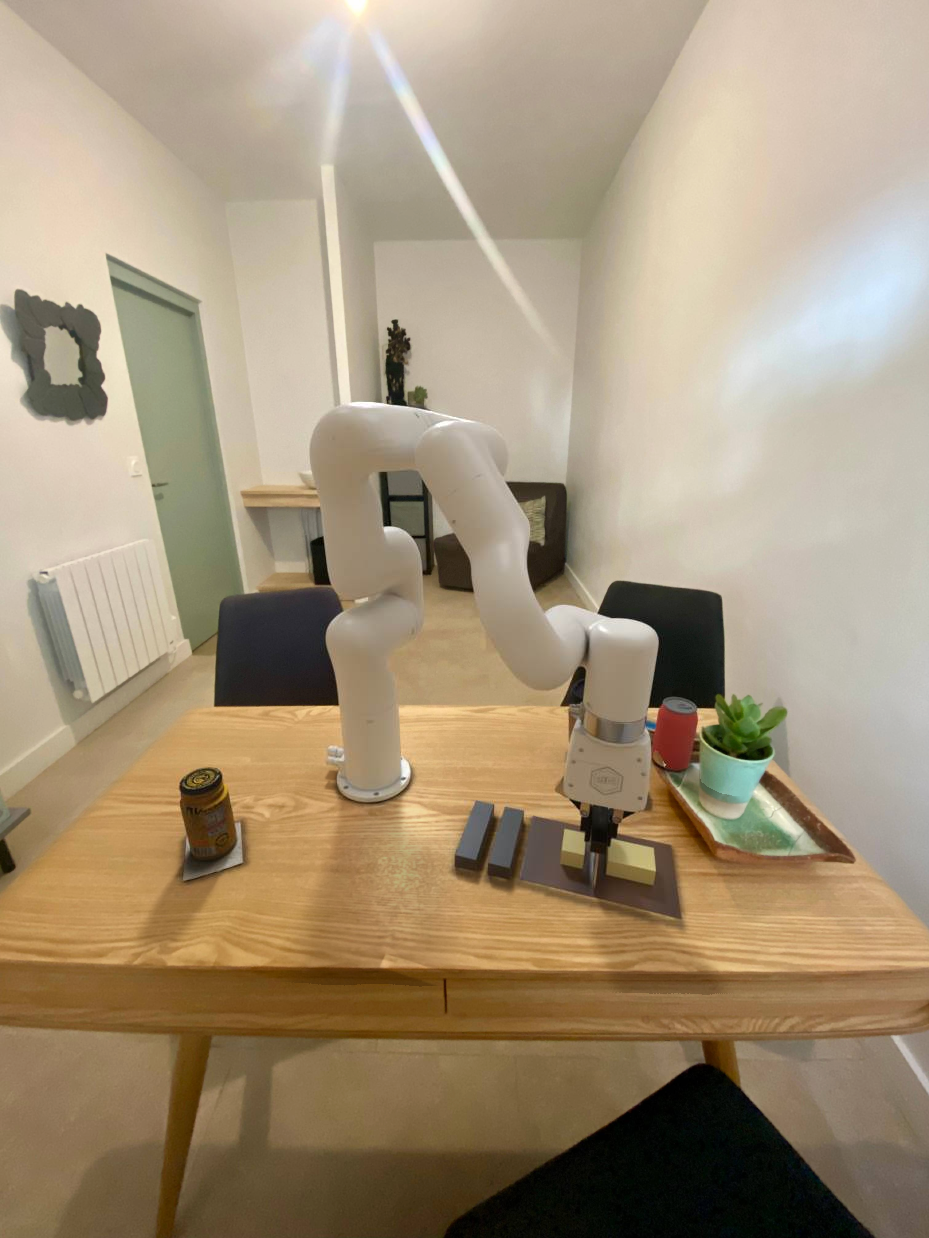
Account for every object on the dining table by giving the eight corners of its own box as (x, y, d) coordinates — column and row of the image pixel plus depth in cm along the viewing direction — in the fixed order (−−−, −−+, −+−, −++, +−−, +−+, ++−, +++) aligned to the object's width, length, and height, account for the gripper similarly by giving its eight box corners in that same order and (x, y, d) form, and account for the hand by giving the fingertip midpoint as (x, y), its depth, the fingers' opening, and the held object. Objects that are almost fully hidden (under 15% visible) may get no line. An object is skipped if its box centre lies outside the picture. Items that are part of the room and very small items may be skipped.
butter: (605, 874, 64) (607, 860, 63) (606, 851, 68) (608, 837, 67) (653, 885, 63) (656, 871, 62) (651, 861, 66) (653, 847, 66)
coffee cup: (614, 755, 90) (624, 684, 85) (600, 780, 84) (609, 705, 78) (571, 741, 95) (578, 672, 89) (554, 763, 88) (561, 691, 83)
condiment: (240, 822, 74) (227, 757, 70) (243, 863, 67) (229, 793, 63) (186, 838, 71) (169, 771, 67) (183, 883, 64) (164, 810, 60)
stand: (454, 871, 66) (454, 854, 65) (475, 815, 76) (475, 800, 75) (509, 885, 64) (510, 868, 63) (523, 825, 74) (524, 810, 73)
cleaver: (585, 887, 62) (590, 840, 60) (589, 831, 71) (593, 788, 69) (601, 891, 62) (607, 844, 59) (603, 833, 71) (608, 790, 68)
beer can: (692, 775, 85) (704, 716, 81) (653, 770, 86) (663, 712, 82) (684, 752, 91) (695, 697, 87) (647, 748, 92) (657, 693, 88)
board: (518, 884, 64) (519, 878, 64) (532, 820, 75) (532, 815, 74) (680, 925, 59) (681, 919, 58) (670, 849, 70) (671, 844, 69)
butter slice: (560, 863, 66) (561, 849, 65) (563, 842, 70) (564, 828, 69) (582, 869, 65) (584, 855, 64) (584, 846, 69) (586, 833, 68)
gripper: (543, 725, 57) (534, 844, 64) (687, 748, 53) (662, 873, 60) (551, 695, 64) (542, 805, 71) (679, 713, 60) (657, 829, 66)
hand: (597, 835), depth 65 cm, fingers closed on cleaver, 2 cm apart
